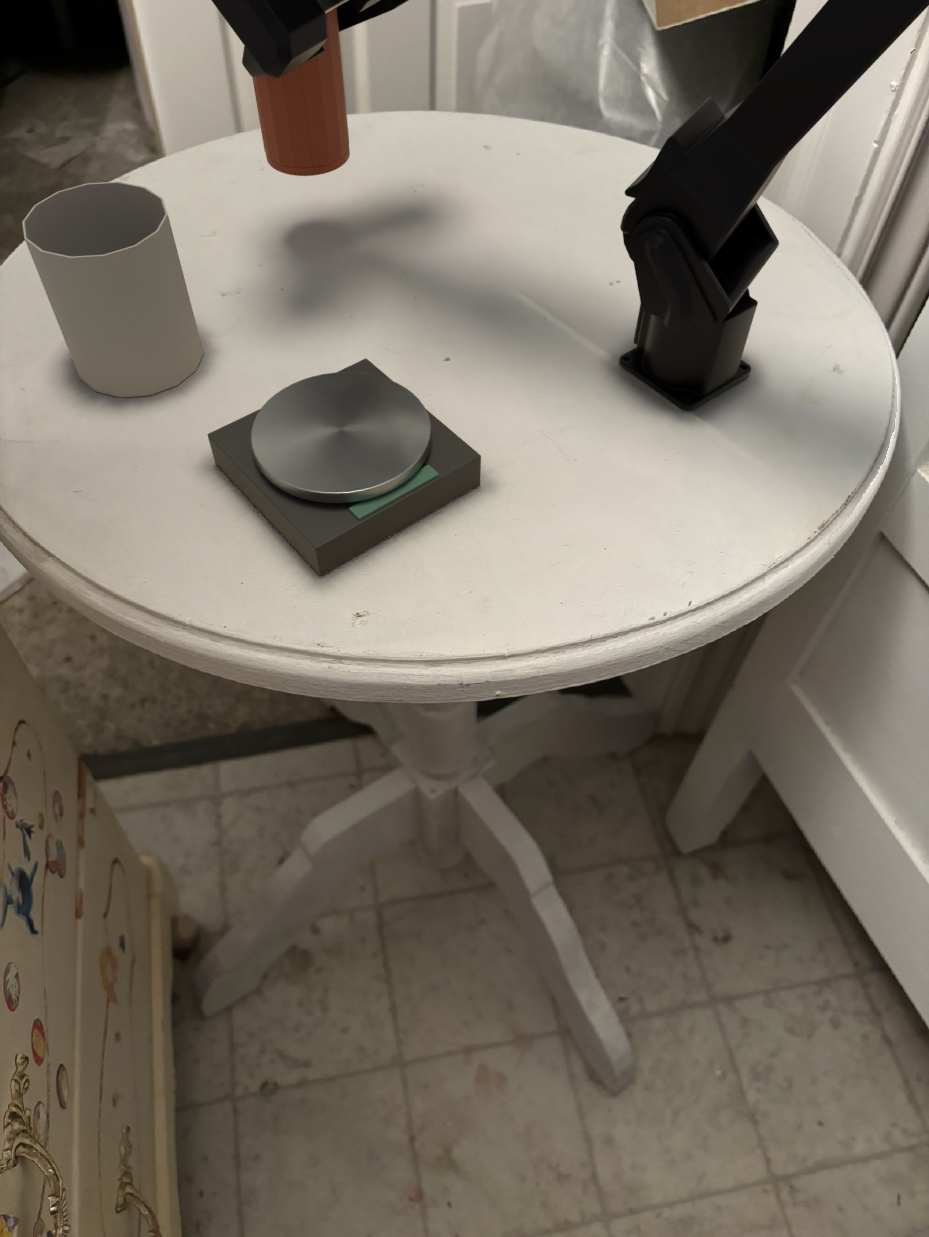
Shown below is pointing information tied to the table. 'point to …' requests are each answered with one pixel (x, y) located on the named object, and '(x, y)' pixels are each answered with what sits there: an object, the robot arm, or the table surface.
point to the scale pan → (341, 437)
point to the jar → (306, 112)
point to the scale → (354, 526)
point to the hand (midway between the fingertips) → (279, 52)
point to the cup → (115, 286)
